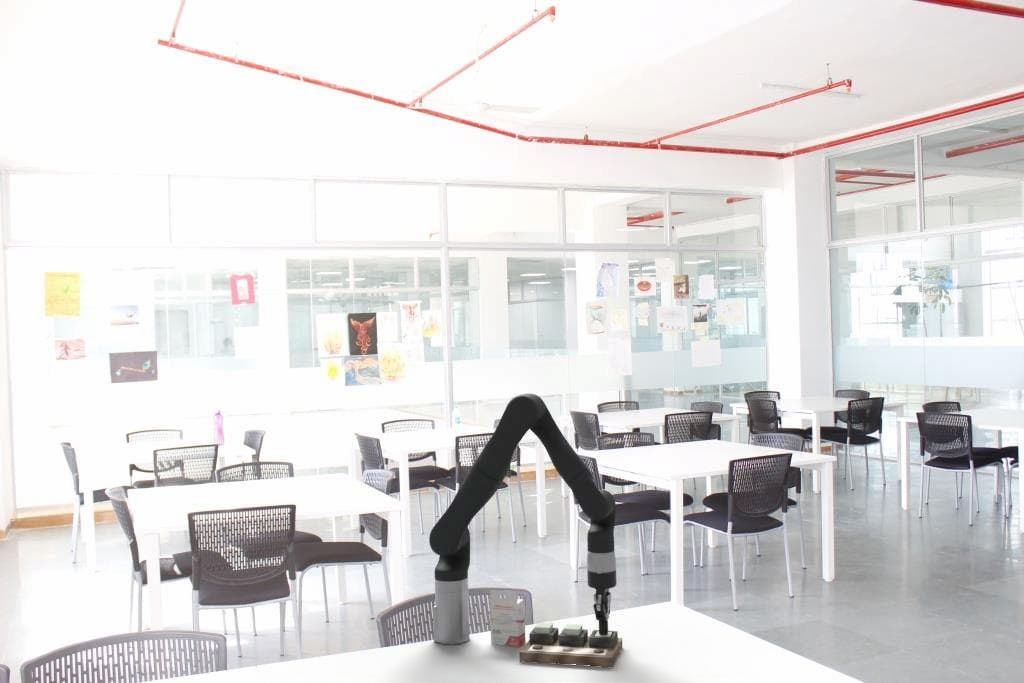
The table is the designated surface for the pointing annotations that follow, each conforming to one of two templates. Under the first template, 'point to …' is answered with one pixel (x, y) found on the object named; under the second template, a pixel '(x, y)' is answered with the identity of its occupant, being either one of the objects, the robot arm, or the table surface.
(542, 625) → the button
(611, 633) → the button
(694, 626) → the table surface
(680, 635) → the table surface
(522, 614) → the ink cartridge box
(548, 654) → the button panel
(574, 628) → the button middle
